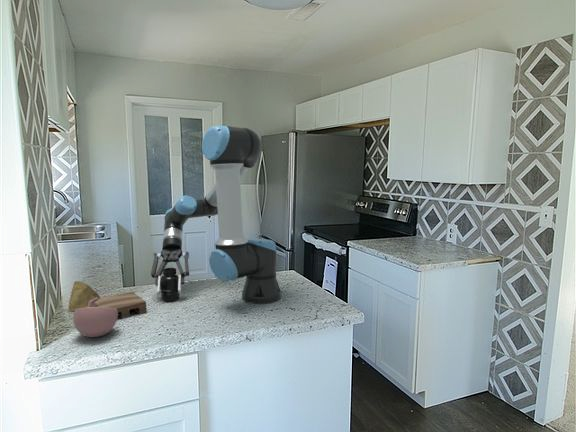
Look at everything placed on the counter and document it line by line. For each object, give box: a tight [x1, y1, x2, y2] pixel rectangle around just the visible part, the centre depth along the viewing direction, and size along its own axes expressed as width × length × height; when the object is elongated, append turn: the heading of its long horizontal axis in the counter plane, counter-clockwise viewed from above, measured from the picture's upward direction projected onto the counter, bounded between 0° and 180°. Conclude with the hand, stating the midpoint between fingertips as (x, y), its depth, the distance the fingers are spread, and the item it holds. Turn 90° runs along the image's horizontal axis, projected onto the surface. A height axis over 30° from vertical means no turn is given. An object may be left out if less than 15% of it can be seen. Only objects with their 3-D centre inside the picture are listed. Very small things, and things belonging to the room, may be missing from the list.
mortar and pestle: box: [72, 297, 119, 338], centre depth 115 cm, size 12×12×12 cm
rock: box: [67, 280, 101, 313], centre depth 139 cm, size 11×9×10 cm
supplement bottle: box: [160, 267, 181, 303], centre depth 146 cm, size 7×7×12 cm
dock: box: [93, 291, 148, 319], centre depth 134 cm, size 14×14×4 cm
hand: (169, 292), depth 143 cm, fingers closed on supplement bottle, 7 cm apart
